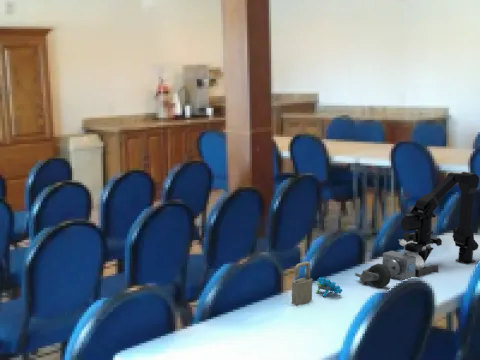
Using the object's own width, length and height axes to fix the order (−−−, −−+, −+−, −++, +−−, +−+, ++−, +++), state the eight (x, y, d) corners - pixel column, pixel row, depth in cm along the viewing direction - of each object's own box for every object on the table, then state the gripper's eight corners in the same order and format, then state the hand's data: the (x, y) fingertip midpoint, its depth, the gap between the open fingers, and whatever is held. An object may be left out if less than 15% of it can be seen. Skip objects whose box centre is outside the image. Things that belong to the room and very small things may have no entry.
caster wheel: (391, 289, 269) (358, 277, 278) (394, 266, 266) (361, 255, 276) (383, 293, 265) (351, 281, 274) (387, 269, 262) (354, 258, 272)
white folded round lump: (418, 275, 283) (419, 257, 282) (401, 271, 288) (402, 254, 286) (426, 270, 290) (427, 253, 288) (409, 267, 294) (410, 249, 293)
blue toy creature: (348, 292, 257) (332, 277, 253) (340, 305, 255) (325, 290, 251) (327, 288, 266) (312, 273, 262) (320, 301, 264) (305, 286, 260)
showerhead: (396, 236, 316) (418, 236, 316) (395, 251, 317) (417, 252, 317) (400, 242, 307) (423, 242, 306) (400, 257, 308) (422, 258, 308)
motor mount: (409, 263, 299) (410, 243, 297) (438, 272, 288) (440, 251, 286) (376, 274, 284) (377, 253, 283) (405, 283, 273) (406, 261, 272)
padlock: (290, 302, 251) (290, 263, 248) (305, 298, 256) (306, 259, 253) (298, 305, 248) (298, 265, 245) (313, 300, 253) (314, 261, 250)
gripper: (421, 221, 301) (419, 255, 304) (394, 228, 289) (393, 264, 292) (443, 225, 293) (441, 261, 296) (417, 233, 281) (415, 270, 284)
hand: (422, 263), depth 292 cm, fingers closed
